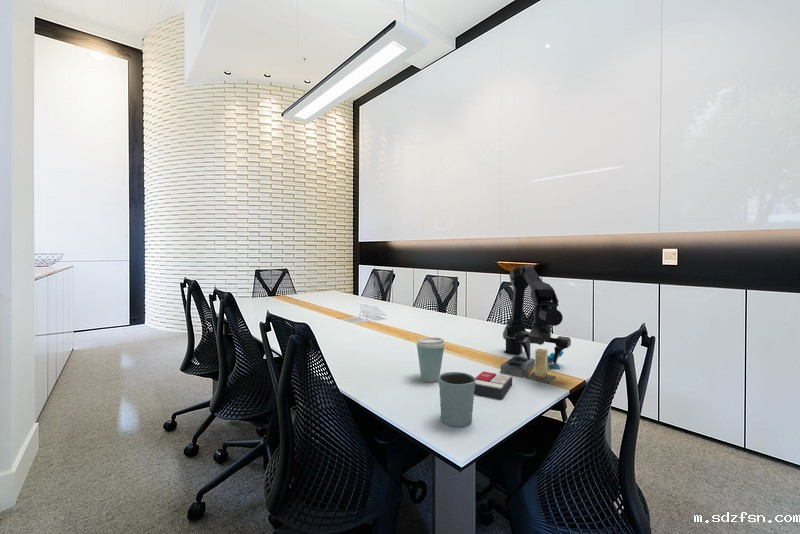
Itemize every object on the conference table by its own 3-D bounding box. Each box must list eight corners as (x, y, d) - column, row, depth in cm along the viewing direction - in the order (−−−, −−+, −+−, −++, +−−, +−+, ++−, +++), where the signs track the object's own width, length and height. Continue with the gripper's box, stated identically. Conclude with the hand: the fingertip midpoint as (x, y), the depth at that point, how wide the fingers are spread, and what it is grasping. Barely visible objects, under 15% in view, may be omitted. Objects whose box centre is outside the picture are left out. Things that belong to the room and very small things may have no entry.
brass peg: (535, 377, 131) (535, 350, 131) (537, 374, 134) (538, 348, 133) (544, 379, 129) (545, 352, 129) (547, 376, 132) (547, 349, 131)
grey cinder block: (500, 372, 137) (500, 365, 137) (515, 362, 150) (515, 355, 149) (521, 377, 132) (521, 369, 132) (534, 366, 145) (534, 359, 145)
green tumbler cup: (434, 424, 96) (434, 381, 96) (443, 409, 106) (443, 369, 105) (471, 431, 93) (472, 386, 92) (477, 414, 102) (478, 373, 102)
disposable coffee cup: (412, 382, 127) (412, 340, 127) (420, 372, 138) (420, 334, 137) (441, 386, 124) (441, 343, 123) (447, 375, 134) (448, 336, 133)
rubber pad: (526, 378, 131) (526, 377, 131) (533, 372, 137) (533, 371, 137) (549, 383, 126) (549, 382, 126) (555, 377, 132) (555, 376, 132)
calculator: (512, 375, 125) (502, 387, 112) (512, 387, 125) (501, 400, 112) (482, 370, 131) (468, 381, 118) (481, 381, 131) (468, 394, 118)
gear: (554, 358, 150) (565, 346, 143) (562, 370, 147) (575, 359, 139) (533, 364, 146) (544, 352, 139) (541, 377, 143) (553, 366, 135)
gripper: (509, 320, 130) (508, 362, 131) (564, 327, 118) (563, 373, 119) (519, 316, 139) (519, 355, 139) (571, 321, 127) (570, 364, 128)
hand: (541, 361), depth 131 cm, fingers open, 9 cm apart
